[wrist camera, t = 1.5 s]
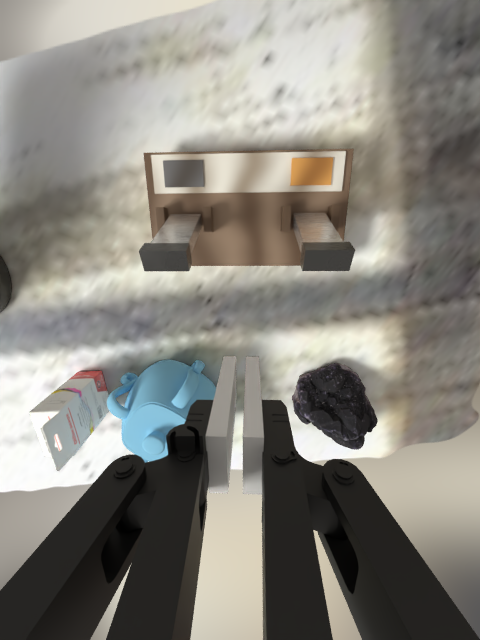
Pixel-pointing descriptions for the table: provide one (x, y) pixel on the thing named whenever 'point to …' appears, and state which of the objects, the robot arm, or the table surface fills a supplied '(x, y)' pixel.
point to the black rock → (335, 404)
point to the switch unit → (248, 199)
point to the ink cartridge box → (70, 415)
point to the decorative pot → (158, 404)
